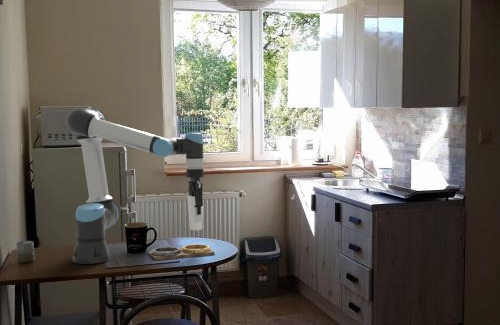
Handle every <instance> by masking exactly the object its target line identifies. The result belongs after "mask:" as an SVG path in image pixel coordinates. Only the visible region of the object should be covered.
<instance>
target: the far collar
mask: <svg viewBox="0 0 500 325" xmlns="http://www.w3.org/2000/svg"><path fill="white" fill-rule="evenodd" d="M181 248H182V251H183V252H185V253H205V252H207V251H210V249H211V246H209V245H208V244H201V243H200V244H199V243H196V244H195V243H194V244H186V245H183V246H181ZM191 248H204V249H191Z"/></svg>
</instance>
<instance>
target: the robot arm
mask: <svg viewBox="0 0 500 325" xmlns="http://www.w3.org/2000/svg"><path fill="white" fill-rule="evenodd" d="M65 119H66V120H65V122H66V123H65V124H66V127H67V129H68V130H69V131H70V132H71V133H72V134H74V135H75V136H76V141H77V142H78V143H79V144H80V145H81V151H82V157H83V158H82V159H83V165H84V172H85V178H86V184H87V185H86V186H87V192H88V199H87V200H86V201H85V202H86V204H81V205H79V206H78V207H77V208H76V210H75V229H76V231H75V232H76V233H75V234H76V244H75V248H74V251H73V254H72V262H73V263H75V264H81V265H82V264H83V265H88V264H89V265H91V264H92V265H93V264H101V263H105V262H107V261H110V259H111V255H110V251H109V248H108V245H107V242H106V230H108V229H110V228H112V227H113V226H114V225H115V224H116V222H117V220H119V211H118V207H117V205H115V203H114V198H113V197H112V196H111V195H110V194H109V189H108V188H109V187H108V180H107V173H106V169H105V168H106V166H105V160H104V151H103V145H102V141H103V140H106V141H110V142H113V143H116V144H120V145H124V146H126V147H131V148H133V149H137V150H140V151H144V152H147V153H151V154H153V155H154V154H155V155H156V156H157V157H160V158H161V157H162V158H166V157H167V158H168V157H170V156H181V155H183V156H185V168H186V171H185V172H186V174H185V175H186V178H188V179H190V180H188V181H187V182H188V196H189V195H191V196H195V204H196V206H194V207H195V222H202V223H203V220H202V211H201V207H202V206H203V207H204V195H203V182H201V179H200V178H203V177H204V176H205V175H204V173H205V172H204V163H205V159H204V140H203V139H204V136H203V134H202V133H201V132H187V133H185V136H183V137H162V136H159V135H155V134H152V133H149V132H146V131H141V130H138V129H136V128H132V127H128V126H124V125H122V124H117V123H114V122H111V121H107V120H105V117H104V115H103V114H102V113H101V112H100V111H99V110H97V109H94V108H86V107H85V108H84V107H77V108H74V109H72V110H71V111H70V112H68V114H67V116H66V118H65Z"/></svg>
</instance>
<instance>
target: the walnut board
mask: <svg viewBox="0 0 500 325" xmlns="http://www.w3.org/2000/svg"><path fill="white" fill-rule="evenodd" d="M180 249H181V253H180V254H177V255H172V256H156V255H154V254H153V253H152V250H148V255H149V256H150V257H151V258H152V259H153V260H154V261H160V260H161V261H162V260H163V261H164V260H171V259H172V260H174V259H175V260H176V259H183V258H184V259H185V258H194V257H195V258H196V257H206V256H215V251H213V250H212V249H211V248H210V251H207V252H205V253H185V252H183V251H182V247H181V248H180ZM191 249H204V248H191ZM159 252H172V251H169V250H168V251H159Z"/></svg>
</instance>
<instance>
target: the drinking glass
mask: <svg viewBox="0 0 500 325" xmlns="http://www.w3.org/2000/svg"><path fill="white" fill-rule="evenodd" d="M194 206H196V204H195V196H191V195H189V194H188V195H187V207H188V208H187V209H188V217H189V218H188V219H189V229H190V231H201V230H203V220H204V218H203V217H204V216H203V215H204V205H203V206H202V207H201V211H202V222H195V207H194Z"/></svg>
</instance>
